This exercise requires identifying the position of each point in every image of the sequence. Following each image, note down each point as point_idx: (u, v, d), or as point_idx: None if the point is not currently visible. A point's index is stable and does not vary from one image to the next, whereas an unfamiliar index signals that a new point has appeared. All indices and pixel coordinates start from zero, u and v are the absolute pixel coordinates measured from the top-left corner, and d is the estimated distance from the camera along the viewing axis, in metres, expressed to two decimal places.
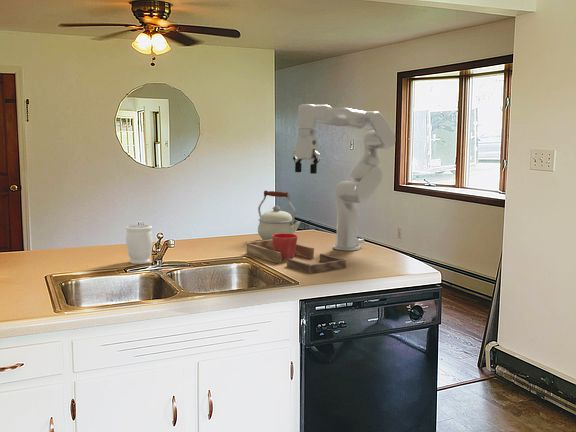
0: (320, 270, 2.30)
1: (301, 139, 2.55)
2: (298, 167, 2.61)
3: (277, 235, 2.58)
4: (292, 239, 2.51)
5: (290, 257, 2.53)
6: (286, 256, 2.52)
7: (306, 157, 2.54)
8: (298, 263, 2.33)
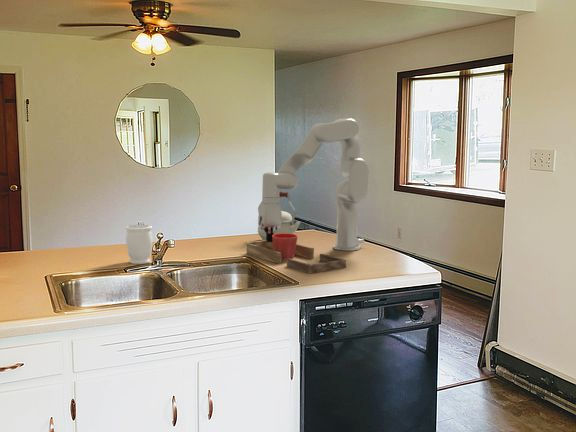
0: (320, 270, 2.30)
1: (272, 207, 2.59)
2: None
3: (277, 235, 2.58)
4: (292, 239, 2.51)
5: (290, 257, 2.53)
6: (286, 256, 2.52)
7: (277, 224, 2.62)
8: (298, 263, 2.33)
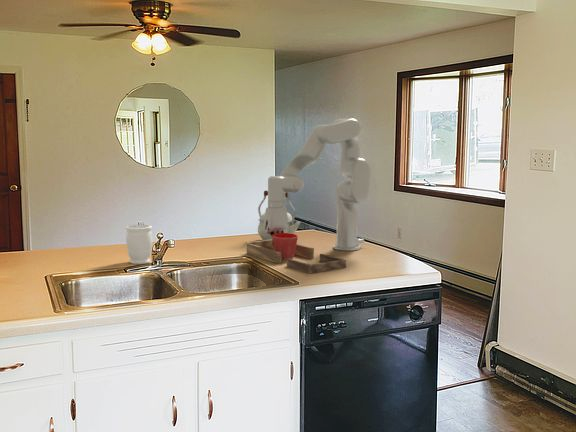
0: (320, 270, 2.30)
1: (278, 211, 2.56)
2: None
3: (277, 234, 2.58)
4: (292, 239, 2.50)
5: (290, 257, 2.53)
6: (286, 256, 2.52)
7: (283, 228, 2.59)
8: (298, 263, 2.33)
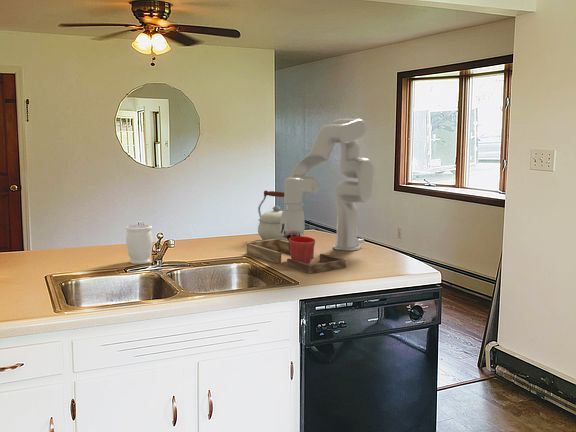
0: (320, 270, 2.30)
1: (295, 213, 2.46)
2: None
3: (294, 238, 2.48)
4: (310, 244, 2.41)
5: (307, 262, 2.43)
6: (302, 261, 2.42)
7: (300, 231, 2.49)
8: (298, 263, 2.33)
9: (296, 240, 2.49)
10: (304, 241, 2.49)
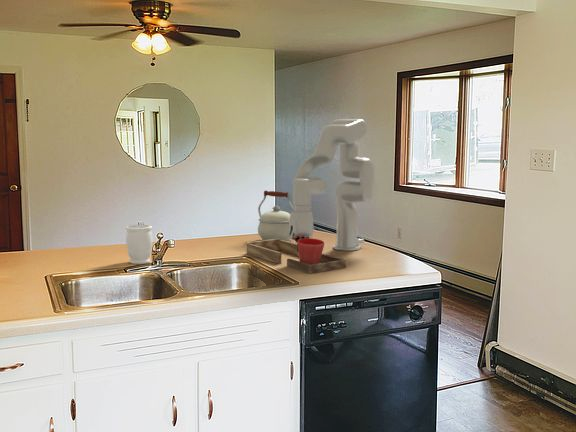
0: (320, 270, 2.30)
1: (304, 215, 2.41)
2: None
3: (302, 240, 2.43)
4: (319, 246, 2.36)
5: None
6: (311, 264, 2.38)
7: (309, 233, 2.45)
8: (298, 263, 2.33)
9: (305, 242, 2.44)
10: (313, 243, 2.44)
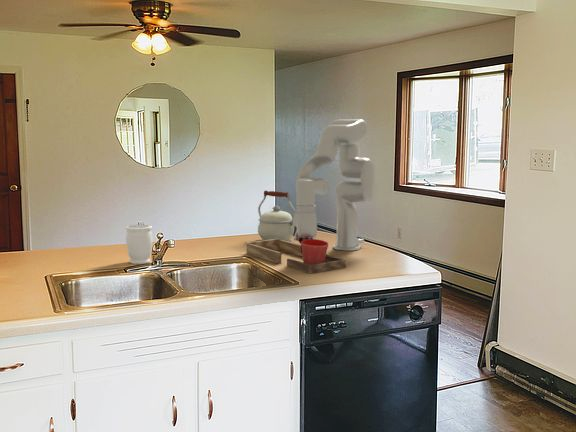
0: (320, 270, 2.30)
1: (307, 216, 2.39)
2: None
3: (306, 241, 2.41)
4: (323, 247, 2.34)
5: None
6: None
7: (313, 234, 2.43)
8: (298, 263, 2.33)
9: (308, 243, 2.42)
10: (316, 244, 2.43)
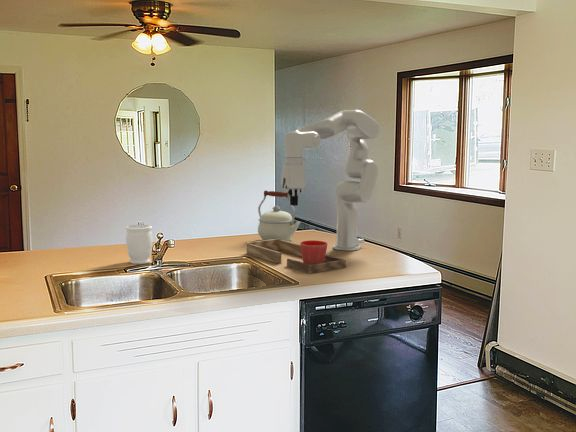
0: (320, 270, 2.30)
1: (296, 168, 2.45)
2: None
3: (305, 242, 2.42)
4: (322, 247, 2.34)
5: None
6: None
7: (301, 186, 2.48)
8: (298, 263, 2.33)
9: (308, 244, 2.43)
10: None
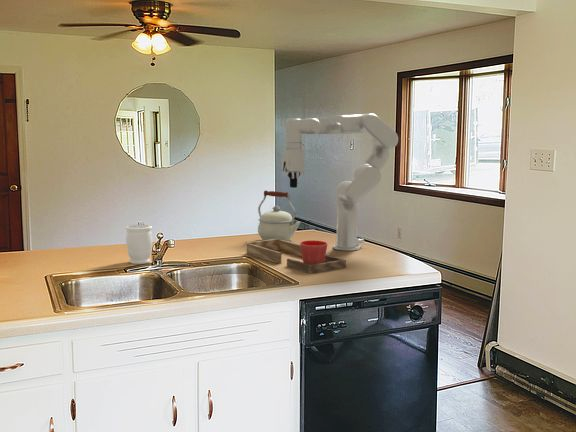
0: (320, 270, 2.30)
1: (295, 152, 2.62)
2: None
3: (305, 242, 2.42)
4: (322, 247, 2.34)
5: None
6: None
7: (300, 169, 2.66)
8: (298, 263, 2.33)
9: (308, 244, 2.43)
10: None
